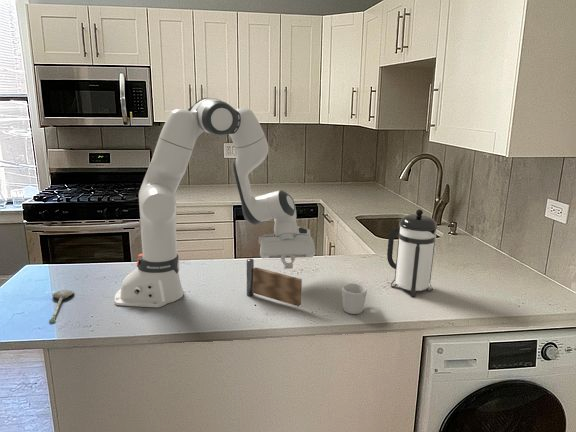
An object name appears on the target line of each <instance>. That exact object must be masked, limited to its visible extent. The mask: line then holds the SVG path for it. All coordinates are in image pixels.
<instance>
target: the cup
mask: <svg viewBox="0 0 576 432" xmlns="http://www.w3.org/2000/svg"><path fill="white" fill-rule="evenodd" d="M367 293H368V289H367V287H366V286H364V285H362V284H359V283H353V282H352V283H350V282H349V283H345V284H343V286H342V287H341V295H342V297H341V298H342V299H341V300H342V309H343V310H344V312H345V313H348V314H350V315H359V314H361V313H363V311H364V309H365V304H366V297H367Z"/></svg>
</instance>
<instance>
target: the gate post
mask: <svg viewBox="0 0 576 432" xmlns="http://www.w3.org/2000/svg"><path fill="white" fill-rule="evenodd" d="M254 263H255V261H254V259H253V258H247V259H246V296H247V297H254V294H255V293H253V268H255V267H254V266H255V265H254Z"/></svg>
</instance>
